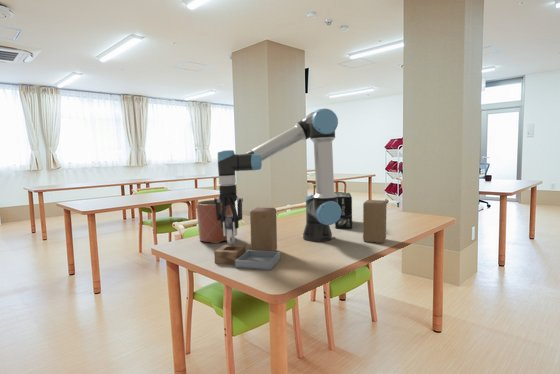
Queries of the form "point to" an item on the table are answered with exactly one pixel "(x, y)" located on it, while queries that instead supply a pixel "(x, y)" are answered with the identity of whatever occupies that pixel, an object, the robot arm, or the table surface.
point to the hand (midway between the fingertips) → (230, 235)
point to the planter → (210, 221)
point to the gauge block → (228, 254)
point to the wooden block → (263, 229)
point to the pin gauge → (229, 230)
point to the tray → (258, 260)
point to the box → (344, 210)
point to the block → (374, 221)
